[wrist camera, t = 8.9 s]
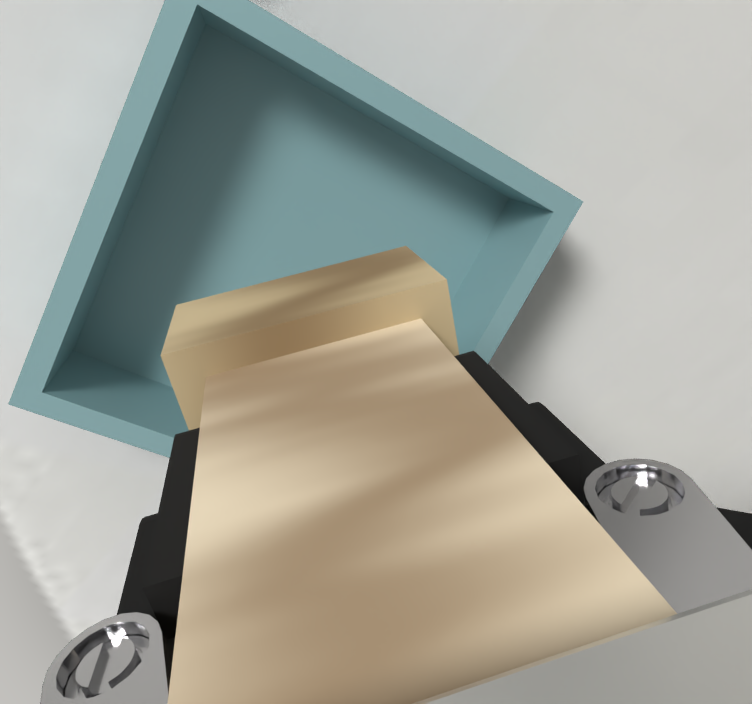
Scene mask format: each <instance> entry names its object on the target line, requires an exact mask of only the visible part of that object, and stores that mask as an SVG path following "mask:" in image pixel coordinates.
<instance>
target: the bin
mask: <svg viewBox="0 0 752 704" xmlns="http://www.w3.org/2000/svg"><path fill="white" fill-rule="evenodd" d="M582 203H583V201H582V200H580V199H578V198H577V197H575V196H573V195H572V194H570V193H568V192H567V191H565V190H563V189H562V188H560V187H558V186H557V185H555V184H553V183H552V182H550V181H548V180H547V179H545V178H543V177H542V176H540V175H538V174H537V173H535V172H533V171H532V170H530V169H528V168H527V167H525V166H523V165H522V164H520V163H518V162H517V161H515V160H513V159H512V158H510V157H508V156H507V155H505V154H503V153H502V152H500V151H498V150H497V149H495V148H493V147H492V146H490V145H488V144H487V143H485V142H483V141H482V140H480V139H478V138H477V137H475V136H473V135H472V134H470V133H468V132H467V131H465V130H464V129H462V128H460V127H459V126H457V125H455V124H454V123H452V122H450V121H449V120H447V119H445V118H444V117H442V116H440V115H439V114H437V113H435V112H434V111H432V110H430V109H429V108H427V107H425V106H424V105H422V104H420V103H419V102H417V101H415V100H414V99H412V98H410V97H409V96H407V95H405V94H404V93H402V92H400V91H399V90H397V89H395V88H394V87H392V86H390V85H389V84H387V83H385V82H384V81H382V80H380V79H379V78H377V77H375V76H374V75H372V74H370V73H369V72H367V71H365V70H364V69H362V68H360V67H359V66H357V65H355V64H354V63H352V62H350V61H349V60H347V59H345V58H344V57H342V56H341V55H339V54H337V53H336V52H334V51H332V50H331V49H329V48H327V47H326V46H324V45H322V44H321V43H319V42H317V41H316V40H314V39H312V38H311V37H309V36H307V35H306V34H304V33H302V32H301V31H299V30H297V29H296V28H294V27H292V26H291V25H289V24H287V23H286V22H284V21H282V20H281V19H279V18H277V17H276V16H274V15H272V14H271V13H269V12H267V11H266V10H264V9H262V8H261V7H259V6H257V5H256V4H254V3H252V2H251V1H249V0H165V1H164V4H163V6H162V9H161V12H160V14H159V17H158V19H157V22H156V25H155V27H154V30H153V32H152V35H151V37H150V40H149V43H148V45H147V48H146V50H145V53H144V55H143V58H142V61H141V63H140V66H139V68H138V71H137V74H136V76H135V79H134V81H133V84H132V86H131V89H130V92H129V94H128V97H127V99H126V102H125V105H124V107H123V110H122V112H121V115H120V117H119V120H118V123H117V125H116V128H115V130H114V133H113V135H112V138H111V141H110V143H109V146H108V148H107V151H106V154H105V156H104V159H103V161H102V164H101V166H100V169H99V172H98V174H97V177H96V179H95V182H94V185H93V187H92V190H91V192H90V195H89V197H88V200H87V203H86V205H85V208H84V210H83V213H82V216H81V218H80V221H79V223H78V226H77V228H76V231H75V234H74V236H73V239H72V241H71V244H70V246H69V249H68V252H67V254H66V257H65V259H64V262H63V265H62V267H61V270H60V272H59V275H58V277H57V280H56V283H55V285H54V288H53V290H52V293H51V296H50V298H49V301H48V303H47V306H46V308H45V311H44V314H43V316H42V319H41V321H40V324H39V327H38V329H37V332H36V334H35V337H34V339H33V342H32V345H31V347H30V350H29V352H28V355H27V357H26V360H25V363H24V365H23V368H22V370H21V373H20V376H19V378H18V381H17V383H16V386H15V388H14V391H13V394H12V396H11V399H10V401H9V405H12V406H15V407H18V408H21V409H24V410H27V411H30V412H33V413H36V414H39V415H42V416H45V417H48V418H51V419H54V420H57V421H60V422H63V423H66V424H69V425H72V426H75V427H78V428H81V429H84V430H87V431H90V432H93V433H96V434H99V435H102V436H105V437H108V438H112V439H115V440H118V441H121V442H124V443H127V444H130V445H133V446H136V447H139V448H142V449H145V450H148V451H151V452H154V453H157V454H160V455H163V456H166V457H169V458H170V455H171V450H172V445H173V440H174V436H175V434H179V433H182V432H186V431H189V429H188V427H187V424H186V421H185V419H184V416H183V414H182V411H181V408H180V406H179V403H178V400H177V398H176V395H175V392H174V390H173V387H172V385H171V382H170V379H169V377H168V374H167V371H166V369H165V366H164V363H163V361H162V358H161V356H160V355H161V352H162V349H163V346H164V343H165V339H166V336H167V333H168V330H169V326H170V323H171V320H172V317H173V314H174V310H175V307H176V305H178V304H182V303H186V302H189V301H193V300H197V299H201V298H205V297H209V296H213V295H217V294H221V293H224V292H228V291H232V290H236V289H240V288H244V287H248V286H252V285H255V284H259V283H263V282H267V281H271V280H275V279H279V278H283V277H287V276H290V275H294V274H298V273H302V272H306V271H310V270H314V269H318V268H321V267H325V266H329V265H333V264H337V263H341V262H345V261H349V260H353V259H356V258H360V257H364V256H368V255H372V254H376V253H380V252H384V251H387V250H391V249H395V248H399V247H403V246H407V247H408V248H409V249H411V250H412V251H413V252H414V253H415V254H417V255H418V256H419V257H420V258H422V259H423V260H424V261H425V262H426V263H428V264H429V265H430V266H431V267H432V268H434V269H435V270H436V271H437V272H438V273H440V274H441V275H442V276H443V277H445V278H446V279H447V283H448V289H449V295H450V301H451V307H452V313H453V319H454V325H455V331H456V337H457V343H458V349H459V355H460V354H463V353H467V352H471V351H475V352H476V353H477V354H478V355H479V356H480V357H481V358H482V359H483V360H484V361H485V362H486V363H487V364H488V363H489V361H490V360H491V358H492V356H493V355H494V353H495V351H496V350H497V348H498V346H499V344H500V343H501V341H502V339H503V338H504V336H505V334H506V333H507V331H508V329H509V327H510V326H511V324H512V322H513V321H514V319H515V317H516V315H517V314H518V312H519V310H520V309H521V307H522V305H523V304H524V302H525V300H526V298H527V297H528V295H529V293H530V292H531V290H532V288H533V287H534V285H535V283H536V281H537V280H538V278H539V276H540V275H541V273H542V271H543V269H544V268H545V266H546V264H547V263H548V261H549V259H550V258H551V256H552V254H553V252H554V251H555V249H556V247H557V246H558V244H559V242H560V241H561V239H562V237H563V235H564V234H565V232H566V230H567V229H568V227H569V225H570V223H571V222H572V220H573V218H574V217H575V215H576V213H577V212H578V210H579V208H580V206H581V205H582Z"/></svg>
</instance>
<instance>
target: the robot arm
mask: <svg viewBox="0 0 752 704" xmlns="http://www.w3.org/2000/svg"><path fill="white" fill-rule="evenodd" d="M454 357H455V358H456V359H457V360H458V361H459V363H460V364H461V365H462V366H463V367H464V368H465V370H466V371H467V372H468V373H469V374H470V375H471V376H472V378H473V379H474V380H475V381H476V382H477V383H478V385H479V386H480V387H481V388H482V389H483V390H484V391H485V393H486V394H487V395H488V396H489V397H490V398H491V400H492V401H493V402H494V403H495V404H496V405H497V406H498V408H499V409H500V410H501V411H502V412H503V413H504V414H505V416H506V417H507V418H508V419H509V420H510V421H511V423H512V424H513V425H514V426H515V427H516V428H517V429H518V431H519V432H520V433H521V434H522V435H523V436H524V438H525V439H526V440H527V441H528V442H529V443H530V444H531V446H532V447H533V448H534V449H535V450H536V451H537V453H538V454H539V455H540V456H541V457H542V458H543V459H544V461H545V462H546V463H547V464H548V465H549V466H550V467H551V469H552V470H553V471H554V472H555V473H556V474H557V476H558V477H559V478H560V479H561V480H562V481H563V482H564V484H565V485H566V486H567V487H568V488H569V489H570V491H571V492H572V493H573V494H574V495H575V496H576V497H577V499H578V500H579V501H580V502H581V503H582V504H583V506H584V507H585V508H586V509H587V510H588V511H589V512H590V514H591V515H592V516H593V517H594V518H595V519H596V520H597V522H598V523H599V524H600V525H601V526H602V527H603V529H604V530H605V531H606V532H607V533H608V534H609V535H610V537H611V538H612V539H613V540H614V541H615V542H616V544H617V545H618V546H619V547H620V548H621V549H622V550H623V552H624V553H625V554H626V555H627V556H628V557H629V559H630V560H631V561H632V562H633V563H634V564H635V565H636V567H637V568H638V569H639V570H640V571H641V572H642V573H643V575H644V576H645V577H646V578H647V579H648V580H649V582H650V583H651V584H652V585H653V586H654V587H655V588H656V590H657V591H658V592H659V593H660V594H661V595H662V597H663V598H664V599H665V600H666V601H667V602H668V603H669V605H670V606H671V607H672V608H673V609H674V610H675V612H676V613H677V614H675V615H672V616H669V617H666V618H663V619H660V620H657V621H654V622H651V623H648V624H646V625H643V626H640V627H637V628H634V629H631V630H628V631H625V632H622V633H619V634H616V635H613V636H610V637H607V638H604V639H601V640H598V641H595V642H592V643H589V644H586V645H583V646H580V647H577V648H574V649H571V650H568V651H565V652H562V653H559V654H556V655H553V656H550V657H547V658H544V659H541V660H538V661H535V662H533V663H530V664H527V665H524V666H521V667H518V668H515V669H512V670H509V671H506V672H503V673H500V674H497V675H494V676H492V677H489V678H486V679H483V680H480V681H477V682H474V683H471V684H468V685H465V686H462V687H459V688H456V689H453V690H451V691H448V692H445V693H442V694H439V695H436V696H433V697H430V698H427V699H424V700H421V701H418V702H415V703H413V704H752V514H750V513H744V512H738V511H733V510H727V509H721V508H716V507H715V506H714V504H713V503H712V502H711V501H710V500H709V499H708V497H707V496H706V495H705V494H704V493H703V491H702V490H701V489H700V488H699V487H698V485H697V484H696V483H695V482H694V481H693V480H692V479H691V478H690V477H689V476H688V475H687V474H685V473H684V472H683V471H682V470H680V469H678V468H676V467H674V466H671V465H669V464H667V463H663V462H659V461H655V460H648V459H625V460H617V461H614V462H610V463H607V464H605V463H604V462H603V461H602V460H601V459H600V458H599V457H598V456H597V455H596V454H595V453H594V452H593V451H591V450H590V449H589V448H588V447H587V446H586V445H585V444H584V443H583V442H582V441H581V440H580V439H579V438H578V437H577V436H576V435H575V434H573V433H572V432H571V431H570V430H569V429H568V428H567V427H566V426H565V425H564V424H563V423H562V422H561V421H560V420H559V419H558V418H557V417H555V416H554V415H553V414H552V413H551V412H550V411H549V410H548V409H547V408H546V407H545V406H544V405H542V404H541V403H539V402H535V403H531V404H528V403H527V402H526V401H525V400H524V399H523V398H522V397H521V396H520V395H519V394H518V393H517V392H516V391H515V390H514V389H513V388H512V387H511V386H510V385H509V384H507V383H506V382H505V381H504V380H503V379H502V378H501V377H500V376H499V375H498V374H497V373H496V372H495V371H494V370H493V369H492V368H491V367H490V366H489V365H488V364H487V363H486V362H485V361H484V360H483V359H482V358H481V357H480V356H479V355H478V354H477V353H476V352H475V351H471V352H467V353H463V354H460V355H456V356H454ZM199 431H200V428H196V429H193V430H189V431H186V432H182V433H179V434H175V436H174V440H173V445H172V450H171V455H170V459H169V464H168V469H167V474H166V478H165V483H164V488H163V492H162V497H161V502H160V507H159V511H158V513H157V514H154V515H150V516H147V517H144V518H143V519H142V520H141V522H140V525H139V529H138V533H137V537H136V541H135V545H134V549H133V553H132V557H131V561H130V565H129V569H128V573H127V577H126V581H125V585H124V589H123V593H122V597H121V601H120V605H119V609H118V613H117V615H116V616H113V617H110V618H107V619H104V620H102V621H100V622H98V623H97V624H95V625H93V626H91V627H89V628H87V629H86V630H84V631H83V632H82V633H81V634H79V635H78V636H77V637H75V638H74V639H73V640H71V641H70V642H69V643H68V644H67V645H66V646H65V647H64V649H63V650H62V651H61V652H60V653H59V654H58V655H57V656H56V658H55V659H54V661H53V662H52V664H51V666H50V667H49V669H48V670H47V673H46V676H45V679H44V682H43V686H42V694H41V702H40V704H167V703H168V695H169V686H170V678H171V669H172V661H173V652H174V644H175V635H176V627H177V618H178V610H179V601H180V593H181V584H182V576H183V567H184V559H185V550H186V541H187V533H188V524H189V516H190V507H191V499H192V490H193V482H194V473H195V465H196V456H197V448H198V439H199Z"/></svg>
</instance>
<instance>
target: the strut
mask: <svg viewBox="0 0 752 704" xmlns="http://www.w3.org/2000/svg"><path fill="white" fill-rule="evenodd" d="M456 355H459V349H458V343H457V337H456V331H455V325H454V319H453V313H452V307H451V301H450V295H449V289H448V283H447V279H446V278H445V277H443V276H442V275H441V274H440V273H438V272H437V271H436V270H435V269H434V268H432V267H431V266H430V265H429V264H428V263H426V262H425V261H424V260H423V259H422V258H420V257H419V256H418V255H417V254H415V253H414V252H413V251H412V250H411V249H409V248H408V247H407V246H403V247H399V248H395V249H391V250H387V251H384V252H380V253H376V254H372V255H368V256H364V257H360V258H356V259H353V260H349V261H345V262H341V263H337V264H333V265H329V266H325V267H321V268H318V269H314V270H310V271H306V272H302V273H298V274H294V275H290V276H287V277H283V278H279V279H275V280H271V281H267V282H263V283H259V284H255V285H252V286H248V287H244V288H240V289H236V290H232V291H228V292H224V293H221V294H217V295H213V296H209V297H205V298H201V299H197V300H193V301H189V302H186V303H182V304H178V305H176V307H175V310H174V314H173V317H172V320H171V323H170V326H169V330H168V333H167V336H166V339H165V343H164V346H163V349H162V352H161V355H160V356H161V358H162V361H163V363H164V366H165V369H166V371H167V374H168V377H169V379H170V382H171V385H172V387H173V390H174V392H175V395H176V398H177V400H178V403H179V406H180V408H181V411H182V414H183V416H184V419H185V421H186V424H187V427H188V429H189V430H193V429H196V428H200V431H199V439H198V448H197V456H196V465H195V473H194V482H193V490H192V499H191V507H190V516H189V524H188V533H187V541H186V550H185V559H184V567H183V576H182V584H181V593H180V601H179V610H178V618H177V627H176V635H175V644H174V652H173V661H172V669H171V678H170V686H169V695H168V703H167V704H413V703H415V702H418V701H421V700H424V699H427V698H430V697H433V696H436V695H439V694H442V693H445V692H448V691H451V690H453V689H456V688H459V687H462V686H465V685H468V684H471V683H474V682H477V681H480V680H483V679H486V678H489V677H492V676H494V675H497V674H500V673H503V672H506V671H509V670H512V669H515V668H518V667H521V666H524V665H527V664H530V663H533V662H535V661H538V660H541V659H544V658H547V657H550V656H553V655H556V654H559V653H562V652H565V651H568V650H571V649H574V648H577V647H580V646H583V645H586V644H589V643H592V642H595V641H598V640H601V639H604V638H607V637H610V636H613V635H616V634H619V633H622V632H625V631H628V630H631V629H634V628H637V627H640V626H643V625H646V624H648V623H651V622H654V621H657V620H660V619H663V618H666V617H669V616H672V615H675V614H677V613H676V612H675V610H674V609H673V608H672V607H671V606H670V605H669V603H668V602H667V601H666V600H665V599H664V598H663V597H662V595H661V594H660V593H659V592H658V591H657V590H656V588H655V587H654V586H653V585H652V584H651V583H650V582H649V580H648V579H647V578H646V577H645V576H644V575H643V573H642V572H641V571H640V570H639V569H638V568H637V567H636V565H635V564H634V563H633V562H632V561H631V560H630V559H629V557H628V556H627V555H626V554H625V553H624V552H623V550H622V549H621V548H620V547H619V546H618V545H617V544H616V542H615V541H614V540H613V539H612V538H611V537H610V535H609V534H608V533H607V532H606V531H605V530H604V529H603V527H602V526H601V525H600V524H599V523H598V522H597V520H596V519H595V518H594V517H593V516H592V515H591V514H590V512H589V511H588V510H587V509H586V508H585V507H584V506H583V504H582V503H581V502H580V501H579V500H578V499H577V497H576V496H575V495H574V494H573V493H572V492H571V491H570V489H569V488H568V487H567V486H566V485H565V484H564V482H563V481H562V480H561V479H560V478H559V477H558V476H557V474H556V473H555V472H554V471H553V470H552V469H551V467H550V466H549V465H548V464H547V463H546V462H545V461H544V459H543V458H542V457H541V456H540V455H539V454H538V453H537V451H536V450H535V449H534V448H533V447H532V446H531V444H530V443H529V442H528V441H527V440H526V439H525V438H524V436H523V435H522V434H521V433H520V432H519V431H518V429H517V428H516V427H515V426H514V425H513V424H512V423H511V421H510V420H509V419H508V418H507V417H506V416H505V414H504V413H503V412H502V411H501V410H500V409H499V408H498V406H497V405H496V404H495V403H494V402H493V401H492V400H491V398H490V397H489V396H488V395H487V394H486V393H485V391H484V390H483V389H482V388H481V387H480V386H479V385H478V383H477V382H476V381H475V380H474V379H473V378H472V376H471V375H470V374H469V373H468V372H467V371H466V370H465V368H464V367H463V366H462V365H461V364H460V363H459V361H458V360H457V359H456V358H455V357H454V356H456Z"/></svg>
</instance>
